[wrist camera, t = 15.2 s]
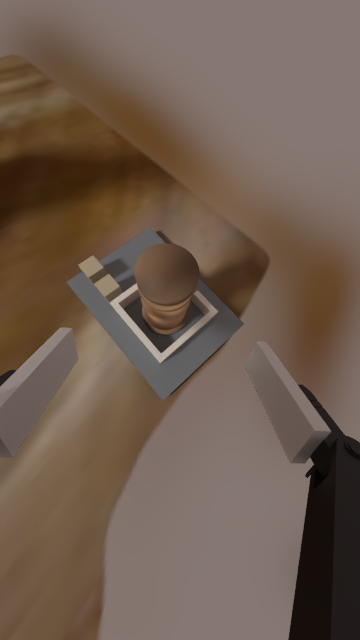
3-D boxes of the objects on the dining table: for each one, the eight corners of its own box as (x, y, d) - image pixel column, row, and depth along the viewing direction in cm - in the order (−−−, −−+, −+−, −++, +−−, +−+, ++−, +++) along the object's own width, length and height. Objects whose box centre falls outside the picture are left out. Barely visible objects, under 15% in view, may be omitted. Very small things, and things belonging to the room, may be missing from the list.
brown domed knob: (133, 310, 27) (112, 265, 16) (167, 284, 29) (171, 226, 18) (162, 344, 26) (162, 322, 15) (196, 315, 28) (220, 275, 17)
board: (70, 286, 29) (54, 271, 25) (151, 234, 33) (149, 213, 29) (162, 399, 26) (162, 404, 22) (240, 326, 30) (253, 318, 26)
